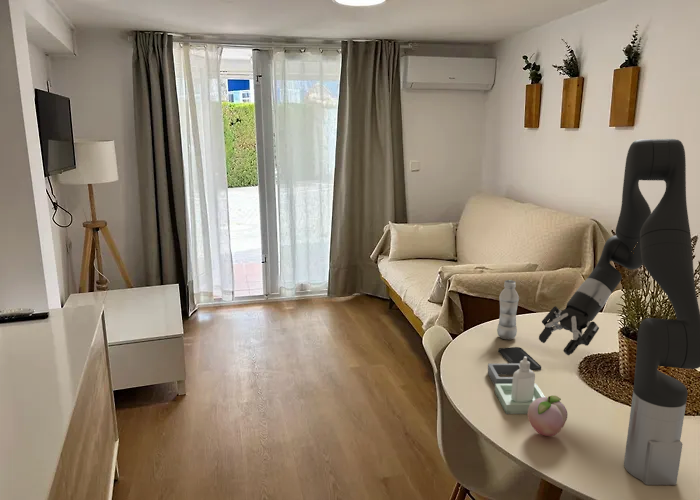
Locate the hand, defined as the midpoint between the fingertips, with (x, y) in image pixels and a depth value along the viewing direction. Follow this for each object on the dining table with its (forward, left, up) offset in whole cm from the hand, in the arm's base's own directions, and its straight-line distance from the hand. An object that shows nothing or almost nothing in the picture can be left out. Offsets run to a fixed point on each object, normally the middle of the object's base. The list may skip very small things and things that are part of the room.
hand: (553, 347), depth 135 cm
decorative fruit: (-19, +8, -14) cm, 25 cm away
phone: (+21, +2, -14) cm, 26 cm away
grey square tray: (+8, +9, -14) cm, 18 cm away
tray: (-4, +9, -14) cm, 17 cm away
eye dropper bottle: (-4, +8, -13) cm, 16 cm away
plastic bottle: (+38, +1, -14) cm, 41 cm away
